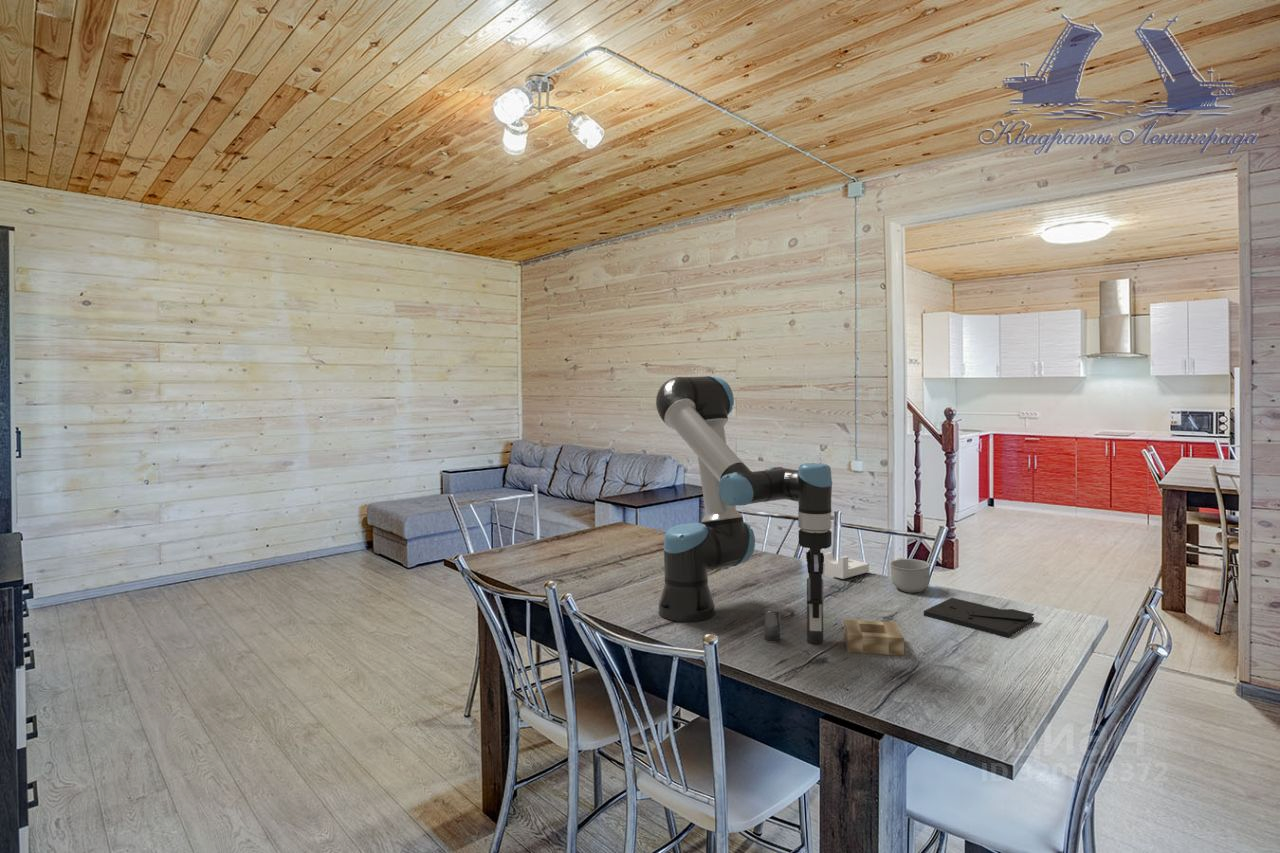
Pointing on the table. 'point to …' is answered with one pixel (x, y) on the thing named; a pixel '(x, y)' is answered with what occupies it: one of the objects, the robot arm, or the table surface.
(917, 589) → the teacup
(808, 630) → the long pin
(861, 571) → the bracket
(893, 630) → the socket block
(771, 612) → the short pin
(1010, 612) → the picture frame
